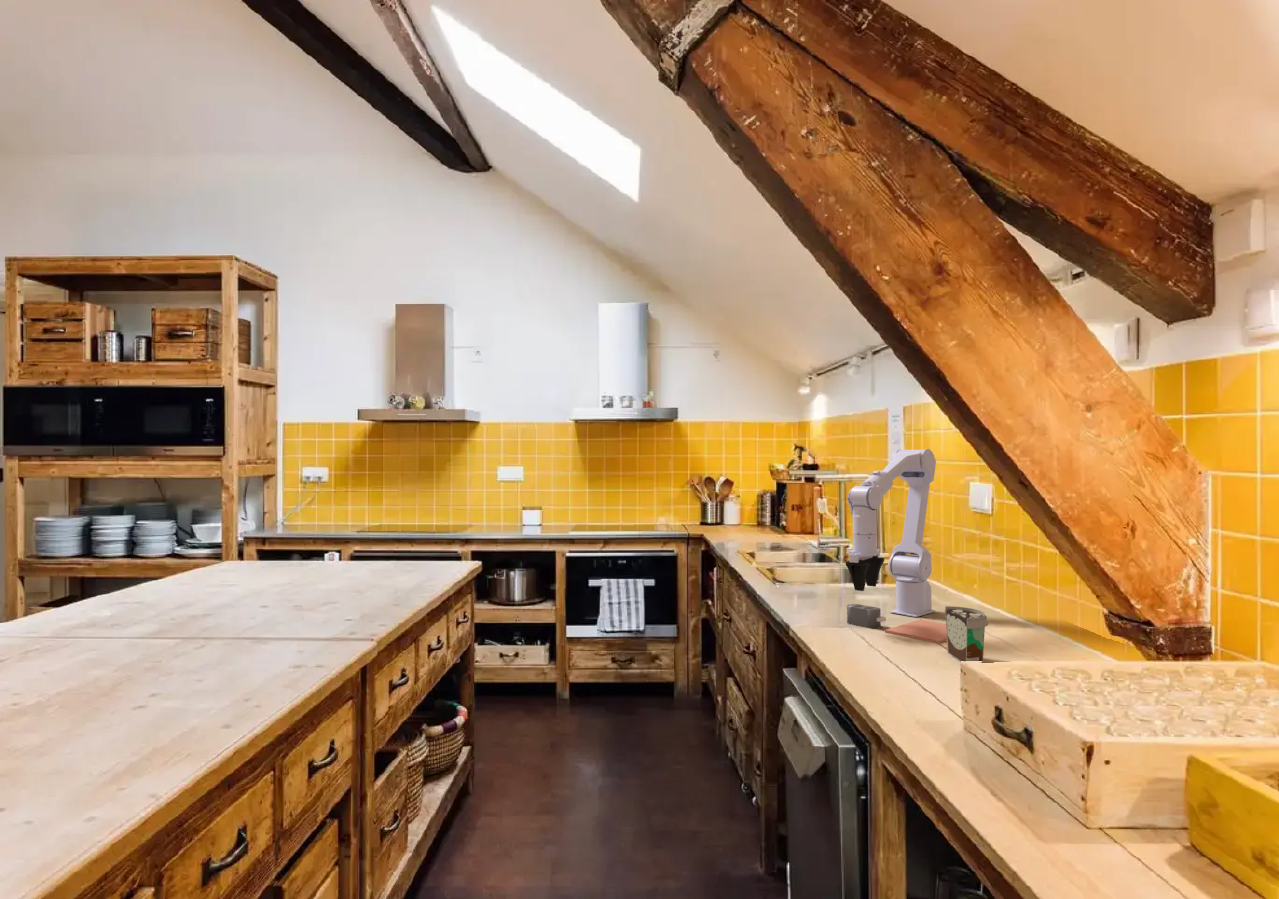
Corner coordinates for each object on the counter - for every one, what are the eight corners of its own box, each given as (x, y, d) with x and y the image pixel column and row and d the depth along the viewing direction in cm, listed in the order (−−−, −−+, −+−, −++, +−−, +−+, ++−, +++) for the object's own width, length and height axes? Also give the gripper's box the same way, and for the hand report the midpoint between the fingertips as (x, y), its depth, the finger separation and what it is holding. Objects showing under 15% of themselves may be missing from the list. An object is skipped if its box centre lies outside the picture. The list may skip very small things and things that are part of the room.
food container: (1000, 668, 149) (999, 618, 149) (969, 668, 149) (968, 618, 149) (973, 651, 161) (972, 605, 161) (945, 651, 161) (944, 605, 161)
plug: (853, 620, 192) (852, 603, 192) (888, 627, 184) (887, 609, 184) (843, 623, 189) (843, 605, 189) (879, 630, 181) (878, 611, 181)
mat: (920, 621, 189) (920, 619, 189) (974, 631, 178) (974, 629, 178) (884, 632, 179) (884, 629, 179) (939, 643, 168) (939, 640, 168)
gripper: (861, 530, 193) (861, 582, 193) (837, 535, 182) (838, 590, 182) (887, 532, 189) (888, 585, 189) (865, 537, 178) (865, 593, 178)
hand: (865, 588), depth 185 cm, fingers open, 7 cm apart
